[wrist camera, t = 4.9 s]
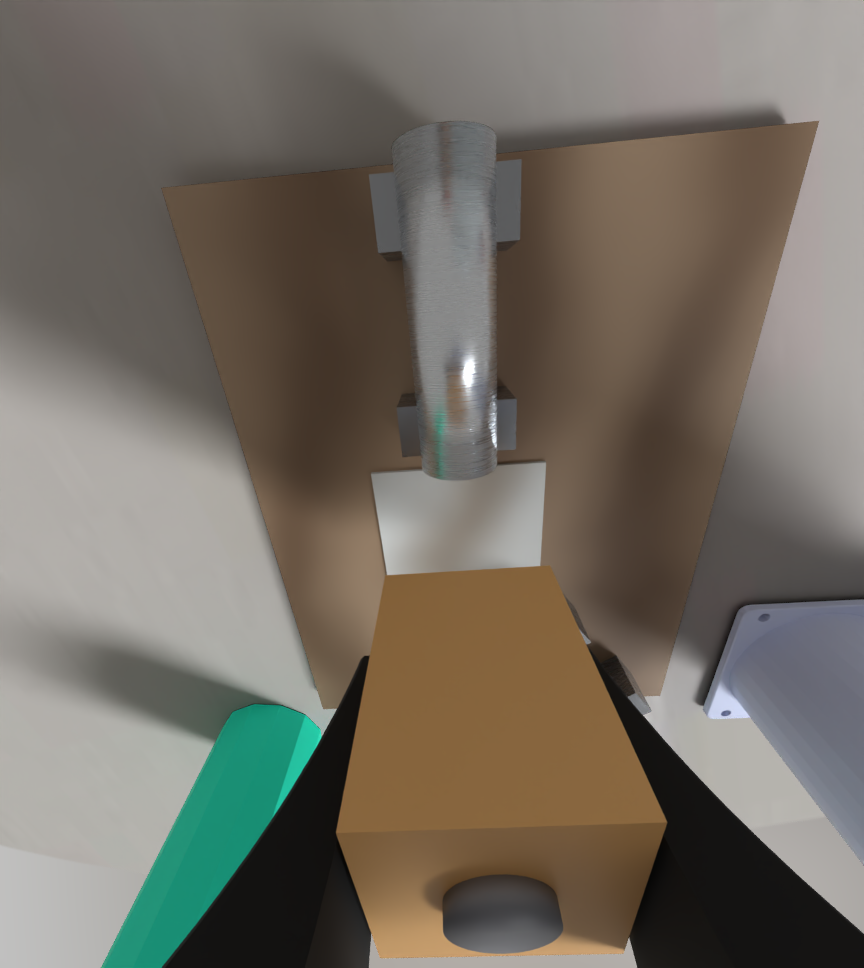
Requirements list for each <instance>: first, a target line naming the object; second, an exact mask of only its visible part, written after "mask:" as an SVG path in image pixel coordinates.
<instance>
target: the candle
mask: <svg viewBox="0 0 864 968" xmlns="http://www.w3.org/2000/svg"><path fill="white" fill-rule="evenodd" d="M320 740H321V730H320V729H319V728H318V727H317V726H316V725H315V724H314V723H313V722H312V721H311V720H310V719H309V718H308V717H307V716H306V715H304V714H302V713H299V712H297V711H294V710H291V709H289V708H286V707H284V706H281V705H261V704H253V705H250V706H247V707H245V708H242V709H239V710H236V711H234V712H232V714H231V715H230V717H229V718H228V720H227V721H226V723H225V724H224V726H223V728H222V730H221V732H220V734H219V736H218V738H217V740H216V742H215V744H214V746H213V748H212V750H211V752H210V754H209V756H208V758H207V760H206V762H205V764H204V766H203V768H202V770H201V772H200V773H199V775H198V777H197V779H196V781H195V783H194V785H193V787H192V789H191V791H190V793H189V795H188V797H187V799H186V801H185V803H184V805H183V807H182V809H181V811H180V813H179V815H178V817H177V819H176V821H175V823H174V825H173V827H172V829H171V831H170V833H169V835H168V837H167V839H166V841H165V843H164V845H163V846H162V848H161V850H160V852H159V854H158V856H157V858H156V860H155V862H154V864H153V866H152V868H151V870H150V872H149V874H148V876H147V878H146V880H145V882H144V884H143V886H142V888H141V890H140V892H139V894H138V896H137V898H136V900H135V902H134V904H133V906H132V908H131V910H130V912H129V914H128V916H127V918H126V919H125V921H124V923H123V926H122V927H121V929H120V931H119V933H118V935H117V937H116V939H115V941H114V944H113V945H112V947H111V949H110V951H109V953H108V955H107V957H106V959H105V961H104V963H103V965H102V967H101V968H162V966H163V965H164V964H165V963H166V961H167V960H168V959H169V958H170V956H171V955H172V954H173V953H174V951H175V950H176V949H177V948H178V946H179V945H180V944H181V943H182V941H183V940H184V939H185V937H186V936H187V935H188V934H189V932H190V931H191V930H192V929H193V927H194V926H195V925H196V924H197V922H198V921H199V920H200V918H201V917H202V916H203V915H204V913H205V912H206V911H207V909H208V908H209V907H210V905H211V904H212V903H213V901H214V900H215V899H216V897H217V896H218V895H219V893H220V892H221V891H222V889H223V888H224V886H225V885H226V884H227V882H228V881H229V879H230V878H231V877H232V875H233V874H234V873H235V871H236V870H237V868H238V867H239V866H240V864H241V863H242V862H243V860H244V859H245V857H246V856H247V855H248V853H249V852H250V850H251V849H252V848H253V846H254V845H255V843H256V842H257V840H258V839H259V837H260V836H261V834H262V833H263V831H264V830H265V828H266V827H267V826H268V824H269V823H270V821H271V820H272V818H273V817H274V815H275V814H276V812H277V811H278V809H279V807H280V806H281V804H282V803H283V801H284V800H285V798H286V797H287V795H288V793H289V792H290V790H291V789H292V787H293V785H294V784H295V782H296V780H297V779H298V777H299V775H300V774H301V772H302V770H303V769H304V767H305V765H306V764H307V762H308V760H309V759H310V757H311V755H312V754H313V752H314V750H315V749H316V747H317V745H318V743H319V741H320Z"/></svg>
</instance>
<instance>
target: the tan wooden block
mask: <svg viewBox="0 0 864 968" xmlns="http://www.w3.org/2000/svg"><path fill="white" fill-rule="evenodd" d="M666 825H667V821H666V818H665V816H664V814H663V812H662V810H661V807H660V805H659V803H658V801H657V799H656V796H655V794H654V792H653V790H652V788H651V785H650V783H649V781H648V779H647V777H646V775H645V772H644V770H643V768H642V766H641V764H640V761H639V759H638V757H637V755H636V753H635V750H634V748H633V746H632V744H631V742H630V739H629V737H628V735H627V733H626V731H625V728H624V726H623V724H622V722H621V720H620V718H619V715H618V713H617V711H616V709H615V707H614V704H613V702H612V700H611V698H610V696H609V693H608V691H607V689H606V687H605V685H604V682H603V680H602V678H601V676H600V674H599V672H598V669H597V667H596V665H595V663H594V661H593V658H592V656H591V654H590V652H589V650H588V647H587V645H586V643H585V641H584V639H583V636H582V634H581V632H580V630H579V628H578V626H577V623H576V621H575V619H574V617H573V615H572V612H571V610H570V608H569V606H568V604H567V601H566V599H565V597H564V595H563V593H562V590H561V588H560V586H559V584H558V582H557V580H556V577H555V575H554V573H553V571H552V569H551V566H550V565H549V566H532V567H515V568H499V569H482V570H465V571H449V572H432V573H415V574H399V575H385V579H384V584H383V590H382V595H381V600H380V605H379V610H378V616H377V621H376V626H375V631H374V637H373V642H372V647H371V652H370V657H369V663H368V668H367V673H366V678H365V684H364V689H363V694H362V699H361V704H360V710H359V715H358V720H357V725H356V731H355V736H354V741H353V746H352V752H351V757H350V762H349V767H348V772H347V778H346V783H345V788H344V793H343V799H342V804H341V809H340V814H339V819H338V825H337V830H336V835H337V838H338V840H339V843H340V846H341V849H342V852H343V855H344V857H345V860H346V863H347V866H348V869H349V871H350V874H351V877H352V880H353V883H354V886H355V888H356V891H357V894H358V897H359V900H360V903H361V905H362V908H363V911H364V914H365V917H366V919H367V922H368V925H369V928H370V931H371V934H372V936H373V939H374V942H375V945H376V948H377V950H378V953H379V956H380V958H414V957H415V958H416V957H417V958H418V957H467V956H468V957H470V956H471V957H472V956H525V955H577V954H623V953H624V950H625V947H626V944H627V941H628V938H629V935H630V932H631V929H632V926H633V924H634V921H635V918H636V915H637V912H638V909H639V906H640V903H641V900H642V897H643V894H644V891H645V888H646V885H647V882H648V879H649V876H650V873H651V870H652V867H653V864H654V861H655V858H656V855H657V852H658V849H659V846H660V843H661V840H662V837H663V834H664V831H665V828H666Z"/></svg>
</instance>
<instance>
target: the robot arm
mask: <svg viewBox="0 0 864 968" xmlns="http://www.w3.org/2000/svg"><path fill="white" fill-rule="evenodd" d="M588 650H589V652H590V654H591V656H592V658H593V661H594V663H595V665H596V667H597V669H598V672H599V674H600V676H601V678H602V680H603V682H604V685H605V687H606V689H607V691H608V693H609V696H610V698H611V700H612V702H613V704H614V707H615V709H616V711H617V713H618V715H619V718H620V720H621V722H622V724H623V726H624V728H625V731H626V733H627V735H628V737H629V739H630V742H631V744H632V746H633V748H634V750H635V753H636V755H637V757H638V759H639V761H640V764H641V766H642V768H643V770H644V772H645V775H646V777H647V779H648V781H649V783H650V785H651V788H652V790H653V792H654V794H655V796H656V799H657V801H658V803H659V805H660V807H661V810H662V812H663V814H664V816H665V818H666V821H667V825H666V828H665V831H664V834H663V837H662V840H661V843H660V846H659V849H658V852H657V855H656V858H655V861H654V864H653V867H652V870H651V873H650V876H649V879H648V882H647V885H646V888H645V891H644V894H643V897H642V900H641V903H640V906H639V909H638V912H637V915H636V918H635V921H634V924H633V926H632V929H631V932H630V935H629V938H630V941H631V945H632V949H633V952H634V956H635V960H636V964H637V968H864V934H863V933H862V932H861V931H860V930H859V929H858V928H857V927H855V926H854V925H853V924H852V923H851V922H850V921H849V920H848V919H846V918H845V917H844V916H843V915H842V914H841V913H840V912H838V911H837V910H836V909H835V908H834V907H833V906H832V905H830V904H829V903H828V902H827V901H826V900H825V899H824V898H823V897H821V895H819V894H818V893H817V892H816V891H815V890H814V889H812V888H811V887H810V886H809V885H808V884H807V883H806V882H805V881H804V880H802V879H801V878H800V877H799V876H798V875H797V874H796V873H795V872H794V871H793V870H792V869H791V868H790V867H789V866H787V865H786V864H785V863H784V862H783V861H782V860H781V859H780V858H779V857H778V856H777V855H776V854H775V853H774V852H773V851H772V850H771V849H769V848H768V847H767V846H766V845H765V844H764V843H763V842H762V841H761V840H760V839H759V838H758V837H757V836H756V835H755V834H754V833H753V832H752V831H751V830H750V829H749V828H748V827H747V826H746V825H745V824H744V823H743V822H742V821H741V820H740V819H739V818H738V817H737V816H735V815H734V814H733V813H732V812H731V811H730V810H729V809H728V808H727V807H726V806H725V804H724V803H723V802H722V801H721V800H720V799H719V798H718V797H717V796H716V795H715V794H714V793H713V792H712V791H711V790H710V789H709V788H708V787H707V786H706V785H705V784H704V783H703V782H702V781H701V780H700V779H699V778H698V776H697V775H696V774H695V773H694V772H693V771H692V770H691V769H690V768H689V767H688V766H687V765H686V764H685V762H684V761H683V760H682V759H681V758H680V757H679V756H678V755H677V754H676V753H675V752H674V750H673V749H672V748H671V747H670V746H669V745H668V744H667V743H666V742H665V740H664V739H663V738H662V737H661V736H660V735H659V733H658V732H657V731H656V730H655V729H654V728H653V727H652V725H651V724H650V723H649V722H648V721H647V720H646V718H645V717H644V716H643V715H642V714H641V713H640V711H639V710H638V709H637V708H636V707H635V705H634V704H633V703H632V702H631V701H630V699H629V698H628V697H627V696H626V694H625V693H624V692H623V691H622V690H621V688H620V687H619V686H618V685H617V683H616V682H615V681H614V680H613V678H612V677H611V676H610V674H609V673H608V672H607V671H606V669H605V668H604V667H603V665H602V664H601V663H600V661H599V660H598V659H597V658H596V656H595V655H594V654H593V652H592V651H591V650H590V648H589V647H588ZM369 657H370V655H369V656H363V657H362V658H361V660H360V662H359V664H358V667H357V669H356V671H355V673H354V675H353V678H352V680H351V682H350V684H349V686H348V688H347V690H346V692H345V694H344V696H343V698H342V700H341V702H340V704H339V706H338V708H337V710H336V712H335V714H334V716H333V718H332V719H331V721H330V723H329V725H328V727H327V729H326V730H325V732H324V734H323V736H322V738H321V740H320V741H319V743H318V745H317V747H316V749H315V750H314V752H313V754H312V755H311V757H310V759H309V760H308V762H307V764H306V765H305V767H304V769H303V770H302V772H301V774H300V775H299V777H298V779H297V780H296V782H295V784H294V785H293V787H292V789H291V790H290V792H289V793H288V795H287V797H286V798H285V800H284V801H283V803H282V804H281V806H280V807H279V809H278V811H277V812H276V814H275V815H274V817H273V818H272V820H271V821H270V823H269V824H268V826H267V827H266V828H265V830H264V831H263V833H262V834H261V836H260V837H259V839H258V840H257V842H256V843H255V845H254V846H253V848H252V849H251V850H250V852H249V853H248V855H247V856H246V857H245V859H244V860H243V862H242V863H241V864H240V866H239V867H238V868H237V870H236V871H235V873H234V874H233V875H232V877H231V878H230V879H229V881H228V882H227V884H226V885H225V886H224V888H223V889H222V891H221V892H220V893H219V895H218V896H217V897H216V899H215V900H214V901H213V903H212V904H211V905H210V907H209V908H208V909H207V911H206V912H205V913H204V915H203V916H202V917H201V918H200V920H199V921H198V922H197V924H196V925H195V926H194V927H193V929H192V930H191V931H190V932H189V934H188V935H187V936H186V937H185V939H184V940H183V941H182V943H181V944H180V945H179V946H178V948H177V949H176V950H175V951H174V953H173V954H172V955H171V956H170V958H169V959H168V960H167V961H166V963H165V964H164V965H163V966H162V968H369V955H370V942H371V931H370V928H369V925H368V922H367V919H366V917H365V914H364V911H363V908H362V905H361V903H360V900H359V897H358V894H357V891H356V888H355V886H354V883H353V880H352V877H351V874H350V871H349V869H348V866H347V863H346V860H345V857H344V855H343V852H342V849H341V846H340V843H339V840H338V838H337V835H336V830H337V825H338V819H339V814H340V809H341V804H342V799H343V793H344V788H345V783H346V778H347V772H348V767H349V762H350V757H351V752H352V746H353V741H354V736H355V731H356V725H357V720H358V715H359V710H360V704H361V699H362V694H363V689H364V684H365V678H366V673H367V668H368V663H369ZM703 711H704V712H705V714H706V715H707V717H709V718H711V719H725V718H751V719H752V720H753V722H754V723H755V724H756V725H757V727H758V728H759V729H760V731H761V732H762V733H763V735H764V736H765V737H766V739H767V740H768V741H769V743H770V744H771V745H772V746H773V748H774V749H775V750H776V752H777V753H778V754H779V756H780V757H781V758H782V760H783V761H784V762H785V763H786V765H787V766H788V767H789V769H790V770H791V771H792V773H793V774H794V775H795V777H796V778H797V779H798V780H799V782H800V783H801V784H802V786H803V787H804V788H805V790H806V791H807V792H808V794H809V795H810V796H811V797H812V799H813V800H814V801H815V803H816V804H817V805H818V807H819V808H820V809H821V811H822V812H823V813H824V814H825V816H826V817H827V818H828V820H829V821H830V822H831V824H832V825H833V826H834V827H835V829H836V830H837V831H838V833H839V834H840V835H841V837H842V838H843V839H844V841H845V842H846V843H847V845H848V846H849V847H850V848H851V850H852V851H853V852H854V854H855V855H856V856H857V858H858V859H859V860H860V862H861V863H862V864H863V866H864V599H860V600H839V601H819V602H799V603H778V604H758V605H747V606H744V607H742V608H741V609H739V611H738V612H737V615H736V618H735V620H734V623H733V626H732V629H731V632H730V634H729V637H728V640H727V643H726V646H725V648H724V651H723V654H722V657H721V659H720V662H719V665H718V668H717V671H716V673H715V676H714V679H713V682H712V685H711V687H710V690H709V693H708V696H707V699H706V701H705V704H704V707H703Z"/></svg>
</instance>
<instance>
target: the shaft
mask: <svg viewBox="0 0 864 968" xmlns="http://www.w3.org/2000/svg"><path fill="white" fill-rule="evenodd" d="M392 157H393V168H394V172H389V173H379V174H369V180H370V188H371V197H372V205H373V214H374V222H375V230H376V239H377V247H378V253H379V254H380V255H381V256H382V257H383V258H384V259H385V260H386V261H387V262H388V261H399V260H402V262H403V272H404V283H405V293H406V304H407V314H408V325H409V335H410V346H411V356H412V366H413V377H414V387H415V393H405V394H402V395H401V398H400V400H399V403H398V405H397V416H398V424H399V433H400V441H401V450H402V457H412V456H421V461H422V470H423V472H424V473H425V474H427V475H428V476H430V477H433V478H436V479H440V480H449V481H462V480H471V479H476V478H480V477H483V476H486V475H488V474H490V473H491V472H493V471H494V470H495V469H496V467H497V451H500V450H514V449H516V415H517V398H516V397H515V396H514V395H513V394H512V393H511V391H510V390H509V389H508V388H507V387H506V386H497V252H498V251H507V250H508V249H509V248H511V247H512V246H513V245H514V244H516V243H517V242H518V241H519V240H520V213H521V163H522V159H518V160H508V161H498V162H496V134H495V132H494V131H493V129H491V128H490V127H488V126H486V125H483V124H480V123H475V122H468V121H448V122H439V123H433V124H428V125H425V126H421V127H418V128H415V129H413V130H410V131H408V132H406V133H404V134H402V135H401V136H399V137H398V138H397V139H396V140H395V141H394V143H393V144H392Z"/></svg>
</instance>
